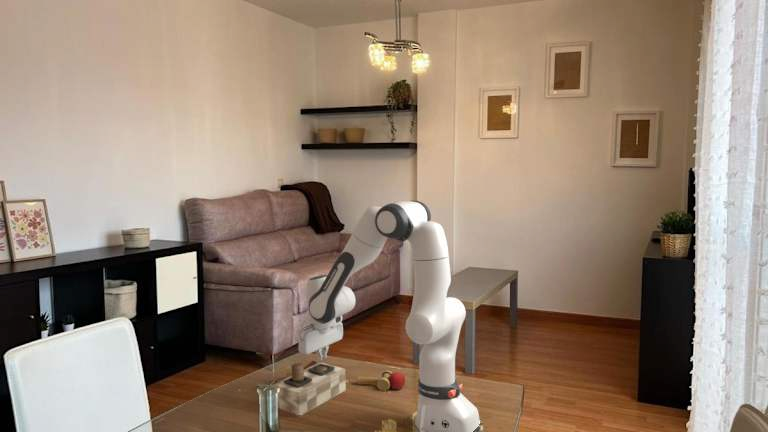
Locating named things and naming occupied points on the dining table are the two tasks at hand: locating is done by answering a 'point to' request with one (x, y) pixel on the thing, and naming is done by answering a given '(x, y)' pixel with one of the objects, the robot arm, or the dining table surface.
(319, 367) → the peg right
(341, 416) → the dining table surface
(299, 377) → the peg left
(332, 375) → the collar block
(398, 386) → the kendama
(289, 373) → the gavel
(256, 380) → the dining table surface
